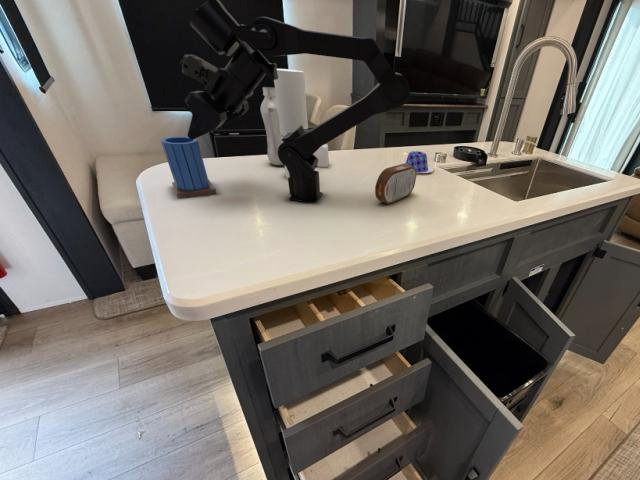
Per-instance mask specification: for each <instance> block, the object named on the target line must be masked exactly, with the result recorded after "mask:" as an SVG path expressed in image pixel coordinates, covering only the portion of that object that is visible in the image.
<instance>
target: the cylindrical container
mask: <svg viewBox="0 0 640 480" xmlns="http://www.w3.org/2000/svg"><path fill="white" fill-rule="evenodd" d="M277 74H278V79H276V80H273V83H274V88H275V92H276V100H277V109H278V117H279V125H280V133H281V139H282V138H283V137H284V136H285V135H286V134H288V133H292V132H294V131H295V130H297V129H298V128H299V127H300V126H301V125H302V126H303V129H304V131H306V130H309V123H308V121H309V120H308V110H307V109H308V107H307V97H306V96H307V95H306V83H305V82H306V81H305V71H303V70H299V69H298V70H297V69H289V68H277ZM281 141H282V140H281ZM282 143H283V141H282ZM284 174H285V178H286V179H288V178H289V177H290V175H289V172H288V169H287V167H286V166H285V165H284Z"/></svg>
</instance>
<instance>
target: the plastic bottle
mask: <svg viewBox="0 0 640 480" xmlns="http://www.w3.org/2000/svg"><path fill="white" fill-rule="evenodd" d="M262 92H263V93H262V95H263V96H264V98H263V100H262V102H261V104H260V108H259V110H260V114H261V119H262V120H263V124H264V129H265V134H266V144H267V145H266V146H267V149H266V150H267V151H266V156H267V158H268V161H269V163H270V164H271V165H275V166H284V165H283V163H282V162H281V161H280V159H279V157H278V147H279V146H280V145H281V144H282V141H281V133H280V125H279V117H278V109H277V100H276V92H275V87H273V86H272V87H271V86H263V87H262Z"/></svg>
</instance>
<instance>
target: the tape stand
mask: <svg viewBox="0 0 640 480" xmlns="http://www.w3.org/2000/svg"><path fill="white" fill-rule="evenodd" d="M208 181H209V186H208V187H207V188H204V189H200V190H194V191H187V190H180V189H178V188H177V187H176V185H175V182H174V181H172V182H171V184H172V188H173V190H174V192H175V194H176V197H177V199H185V198H194V197H202V196H211V195H217V190H216V188H215V186H214V185H213V183H212V182H211V180H210V179H209V178H208Z"/></svg>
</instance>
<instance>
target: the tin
mask: <svg viewBox="0 0 640 480" xmlns="http://www.w3.org/2000/svg"><path fill="white" fill-rule="evenodd" d="M403 163H404V164H401V163H399V164H400V165H399V164H396V165H393V166H389V167H386V168H385V169H383V170H382V171H381V173H379V176H377V177H378V178H377V179H376V182H375V188H374V194H375V197H376V200H377V201H379V202H382V203H384V204H388V205H390V204H392V203H395V202H397V201H400V200H403V199H405V198H407V197H408V196H410V195H411V193H412V192H413V190H414V188H415V185H416V181H417V174H418V173H417V172H416V169H415V168H414V167H412V166H410V165H408V164H406V163H405V162H403Z"/></svg>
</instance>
